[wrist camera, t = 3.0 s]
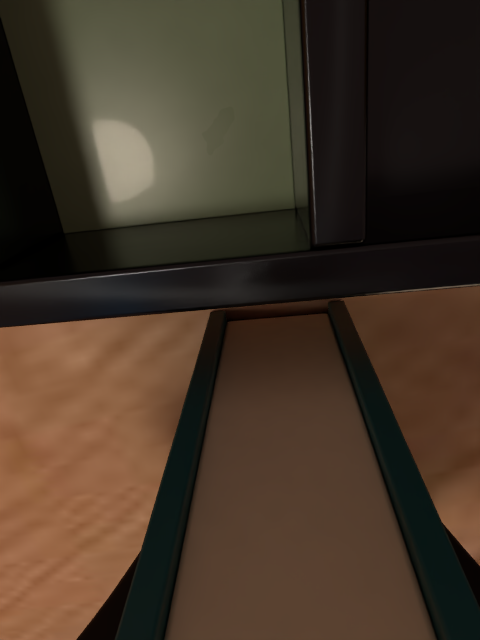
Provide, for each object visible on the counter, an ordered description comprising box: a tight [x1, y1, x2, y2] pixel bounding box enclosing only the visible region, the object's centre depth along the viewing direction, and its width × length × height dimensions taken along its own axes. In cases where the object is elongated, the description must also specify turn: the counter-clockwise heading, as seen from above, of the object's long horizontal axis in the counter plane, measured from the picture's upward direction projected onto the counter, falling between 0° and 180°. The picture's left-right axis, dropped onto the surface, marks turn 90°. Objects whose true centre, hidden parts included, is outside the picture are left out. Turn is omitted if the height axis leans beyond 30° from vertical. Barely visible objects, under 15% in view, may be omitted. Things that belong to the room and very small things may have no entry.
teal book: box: [115, 301, 480, 640], centre depth 8 cm, size 8×3×8 cm, turn 7°
